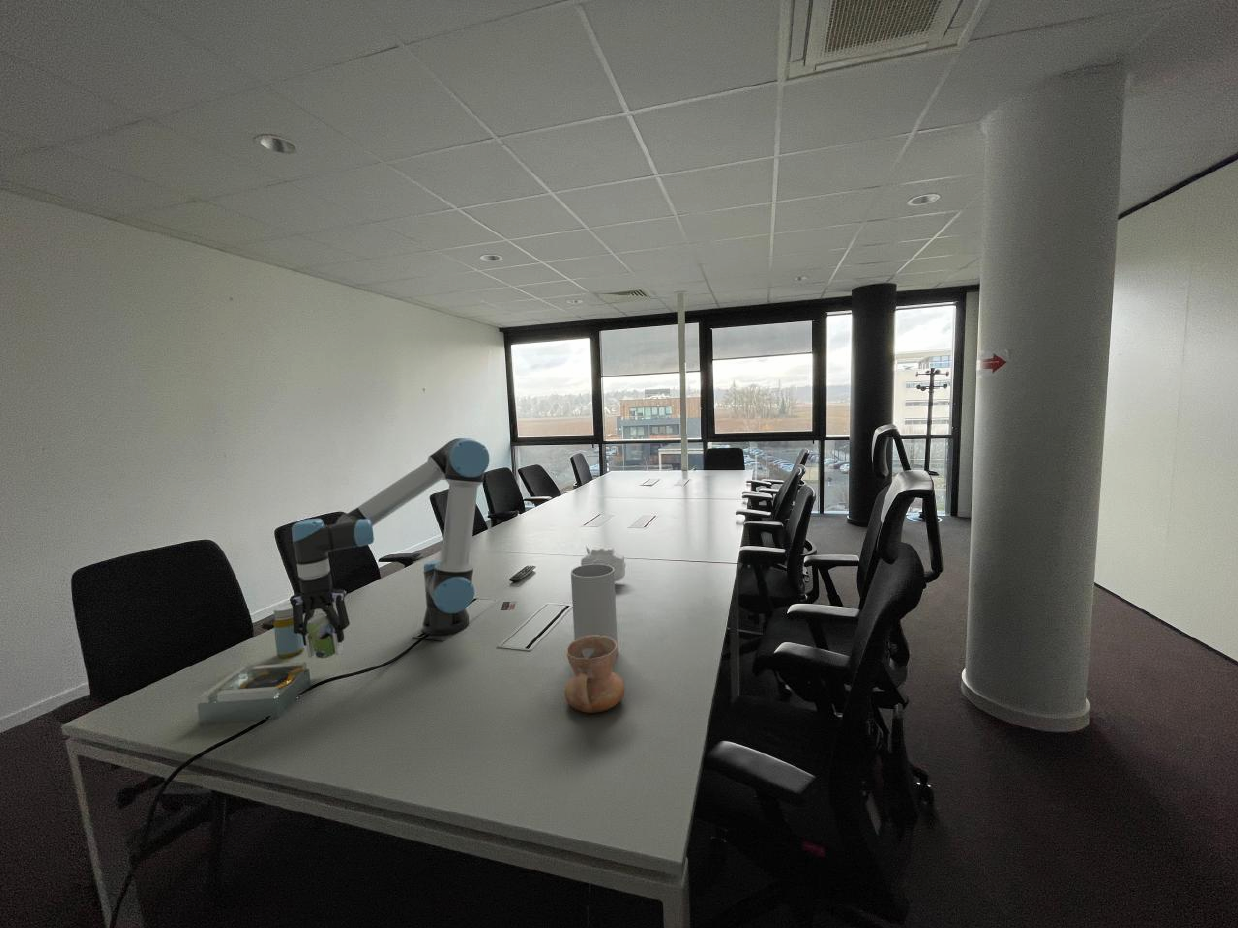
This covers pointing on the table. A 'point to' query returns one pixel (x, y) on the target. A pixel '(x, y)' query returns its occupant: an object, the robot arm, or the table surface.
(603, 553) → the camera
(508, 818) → the table surface
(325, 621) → the beverage can
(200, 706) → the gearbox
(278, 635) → the bottle
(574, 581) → the cylinder vase
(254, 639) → the table surface
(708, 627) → the table surface
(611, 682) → the ceramic jug
